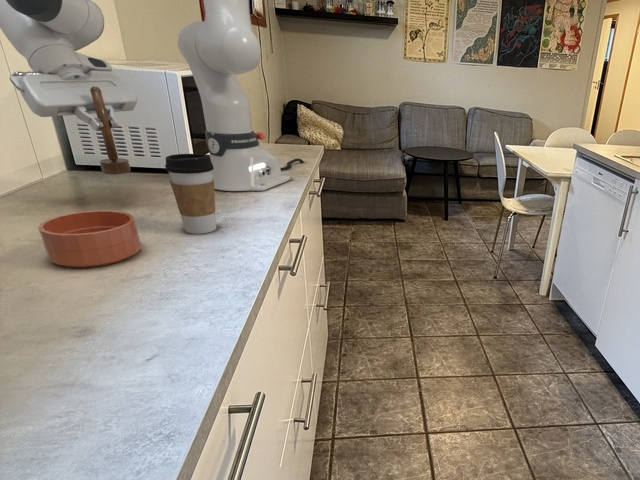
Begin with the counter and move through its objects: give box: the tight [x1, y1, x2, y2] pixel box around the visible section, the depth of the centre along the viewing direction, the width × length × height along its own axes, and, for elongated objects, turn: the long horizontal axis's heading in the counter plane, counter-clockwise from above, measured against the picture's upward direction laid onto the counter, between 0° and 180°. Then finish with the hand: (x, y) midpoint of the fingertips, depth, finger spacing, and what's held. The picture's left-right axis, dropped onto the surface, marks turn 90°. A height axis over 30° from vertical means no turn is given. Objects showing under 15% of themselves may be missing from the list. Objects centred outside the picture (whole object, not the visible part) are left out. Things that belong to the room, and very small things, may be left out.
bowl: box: [37, 210, 142, 268], centre depth 82 cm, size 13×13×6 cm
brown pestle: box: [90, 86, 132, 175], centre depth 100 cm, size 5×5×17 cm
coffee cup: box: [164, 153, 217, 235], centre depth 94 cm, size 8×8×15 cm
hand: (107, 127), depth 99 cm, fingers closed on brown pestle
